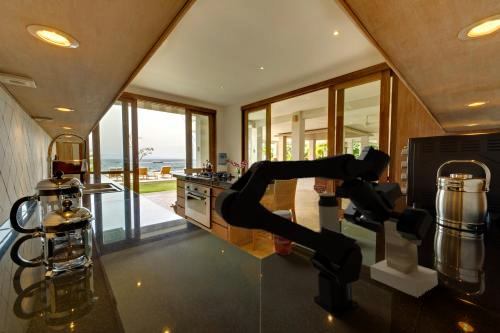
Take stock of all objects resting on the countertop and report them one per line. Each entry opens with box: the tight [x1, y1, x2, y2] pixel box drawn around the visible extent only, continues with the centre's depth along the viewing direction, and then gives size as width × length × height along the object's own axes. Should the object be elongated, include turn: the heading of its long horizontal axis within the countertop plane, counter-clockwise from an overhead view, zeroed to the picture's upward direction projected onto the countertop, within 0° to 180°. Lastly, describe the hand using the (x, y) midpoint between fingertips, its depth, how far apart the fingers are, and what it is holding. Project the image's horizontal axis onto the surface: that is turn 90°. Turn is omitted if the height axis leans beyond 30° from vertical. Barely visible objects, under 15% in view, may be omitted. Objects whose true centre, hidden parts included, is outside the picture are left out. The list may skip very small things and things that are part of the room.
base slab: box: [370, 258, 439, 299], centre depth 51 cm, size 10×10×3 cm
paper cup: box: [272, 209, 294, 255], centre depth 72 cm, size 8×8×14 cm
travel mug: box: [317, 192, 341, 233], centre depth 86 cm, size 8×8×18 cm
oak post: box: [383, 221, 419, 274], centre depth 51 cm, size 4×4×13 cm
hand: (398, 237), depth 51 cm, fingers open, 9 cm apart
